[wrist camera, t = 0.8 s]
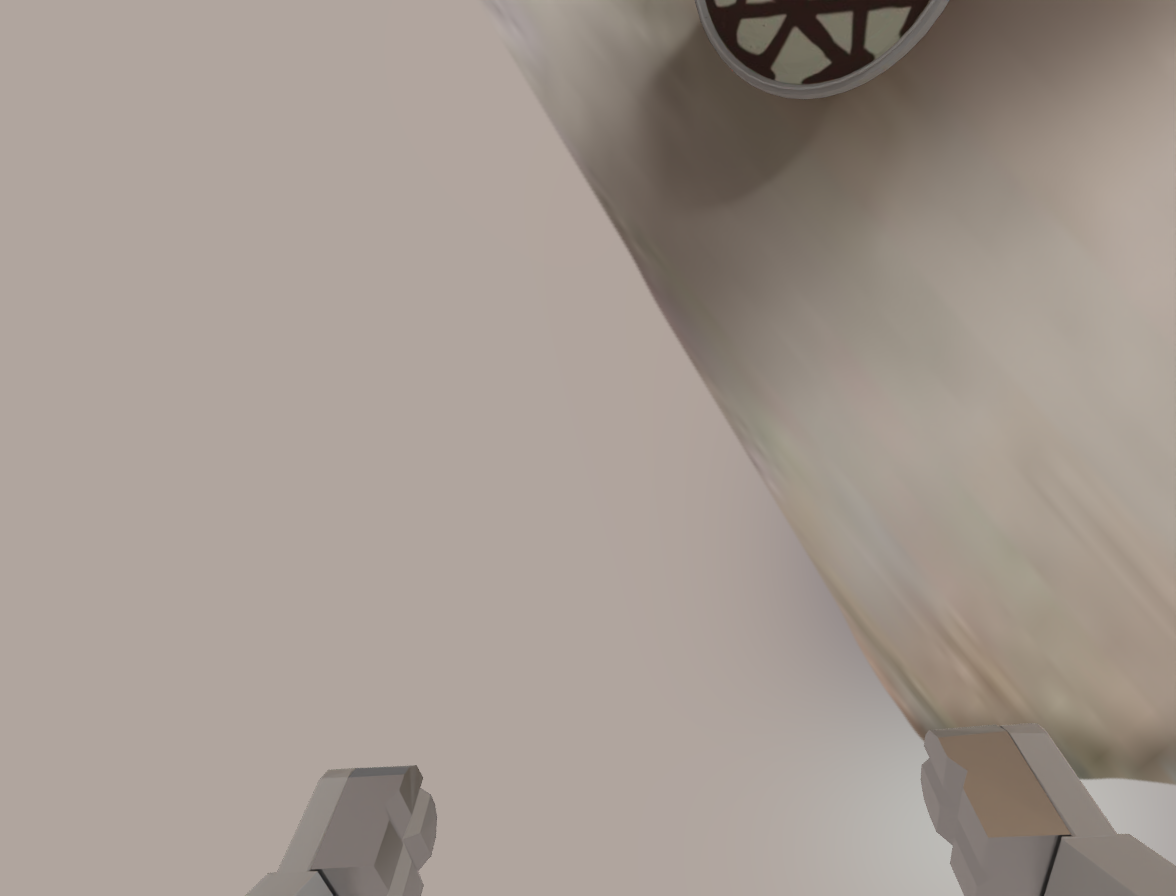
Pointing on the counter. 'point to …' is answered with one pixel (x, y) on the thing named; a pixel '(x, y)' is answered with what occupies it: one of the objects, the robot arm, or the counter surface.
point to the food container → (814, 40)
